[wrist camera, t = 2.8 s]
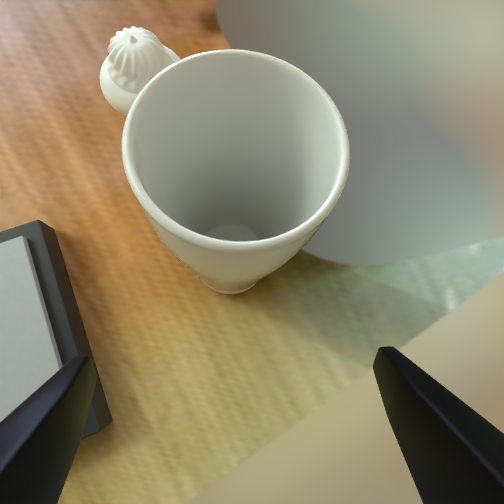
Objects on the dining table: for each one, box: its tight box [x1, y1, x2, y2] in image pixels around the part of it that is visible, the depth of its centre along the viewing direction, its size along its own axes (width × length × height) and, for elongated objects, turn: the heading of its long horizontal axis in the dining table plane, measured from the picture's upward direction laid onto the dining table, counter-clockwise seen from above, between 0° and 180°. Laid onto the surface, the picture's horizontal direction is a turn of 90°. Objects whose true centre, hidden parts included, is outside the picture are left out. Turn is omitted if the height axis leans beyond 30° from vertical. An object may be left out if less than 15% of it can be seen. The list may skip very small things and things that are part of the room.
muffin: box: [100, 26, 180, 117], centre depth 23 cm, size 6×6×7 cm
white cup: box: [122, 49, 350, 294], centre depth 16 cm, size 7×7×15 cm
